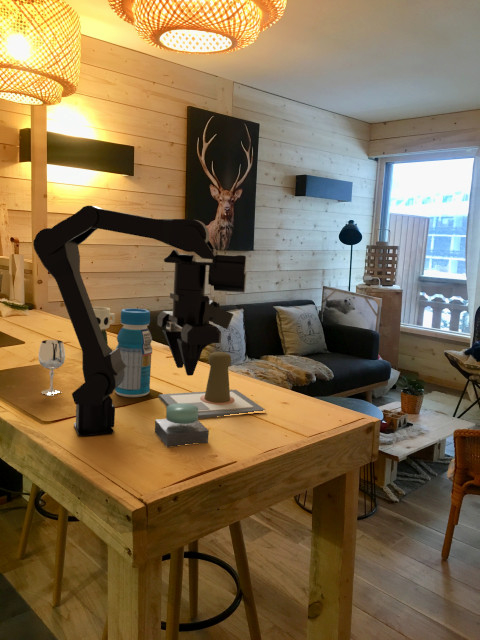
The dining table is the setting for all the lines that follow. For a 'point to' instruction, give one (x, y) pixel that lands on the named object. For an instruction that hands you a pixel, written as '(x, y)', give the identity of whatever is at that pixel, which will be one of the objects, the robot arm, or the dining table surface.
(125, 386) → the beverage bottle
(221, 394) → the brown tapered upright piece
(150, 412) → the dining table surface
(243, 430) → the dining table surface
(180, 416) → the button
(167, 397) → the drawing board
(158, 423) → the button housing
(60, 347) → the wineglass
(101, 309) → the character mug
